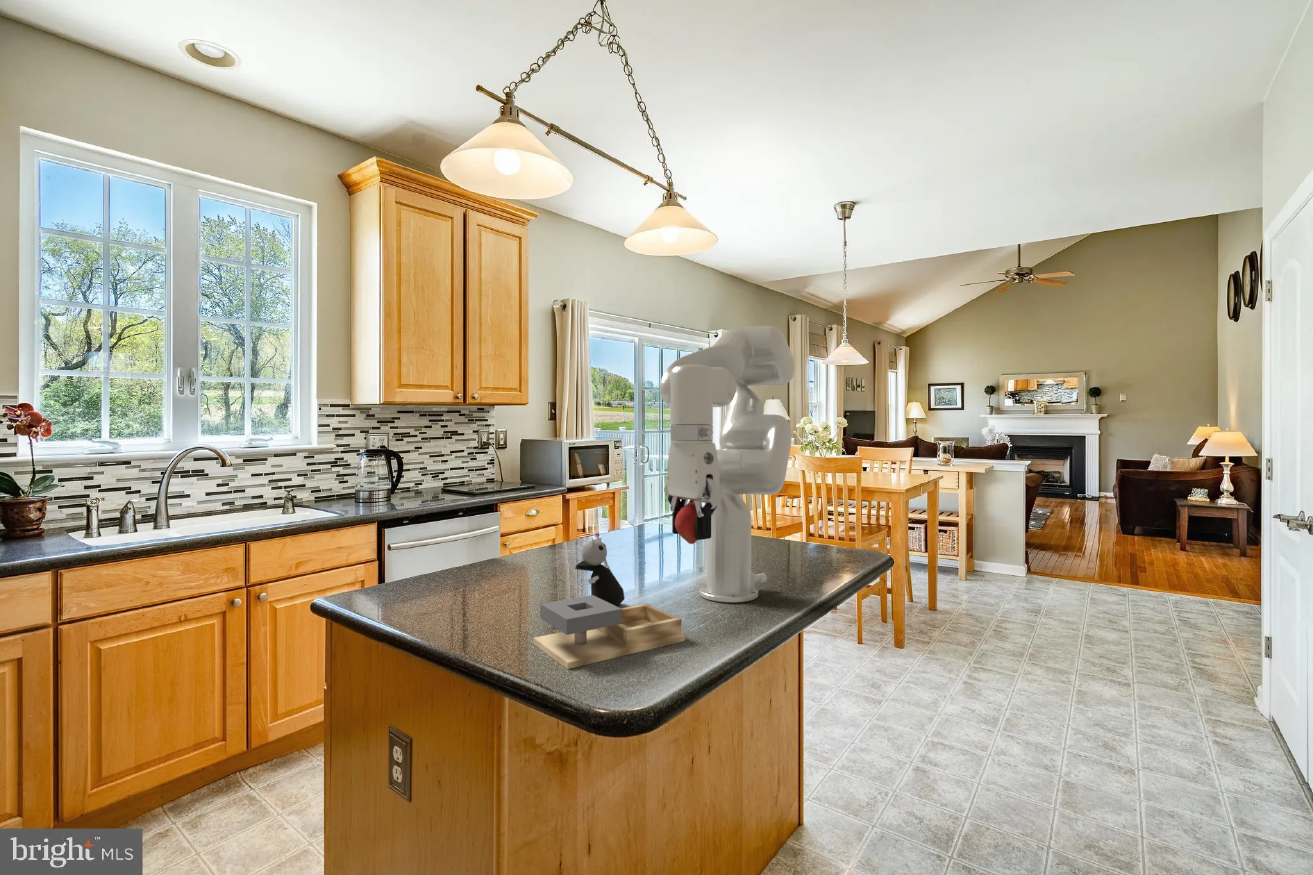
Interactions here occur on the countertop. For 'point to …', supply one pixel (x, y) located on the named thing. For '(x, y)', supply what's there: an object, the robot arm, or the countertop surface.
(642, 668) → the countertop surface
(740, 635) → the countertop surface
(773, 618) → the countertop surface
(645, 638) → the wooden tray
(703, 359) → the robot arm
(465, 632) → the countertop surface
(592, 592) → the toy
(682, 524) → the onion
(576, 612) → the gray holed slab
